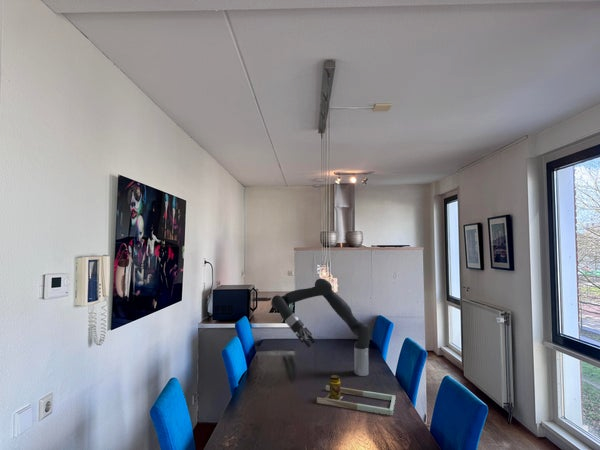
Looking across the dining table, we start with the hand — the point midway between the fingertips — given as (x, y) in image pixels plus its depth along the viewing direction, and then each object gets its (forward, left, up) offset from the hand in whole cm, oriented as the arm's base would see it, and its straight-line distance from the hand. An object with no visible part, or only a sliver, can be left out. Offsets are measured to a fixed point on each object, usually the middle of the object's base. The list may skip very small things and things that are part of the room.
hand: (312, 344), depth 200 cm
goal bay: (+4, +37, -27) cm, 46 cm away
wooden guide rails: (+4, +18, -27) cm, 33 cm away
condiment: (+4, +14, -27) cm, 31 cm away
